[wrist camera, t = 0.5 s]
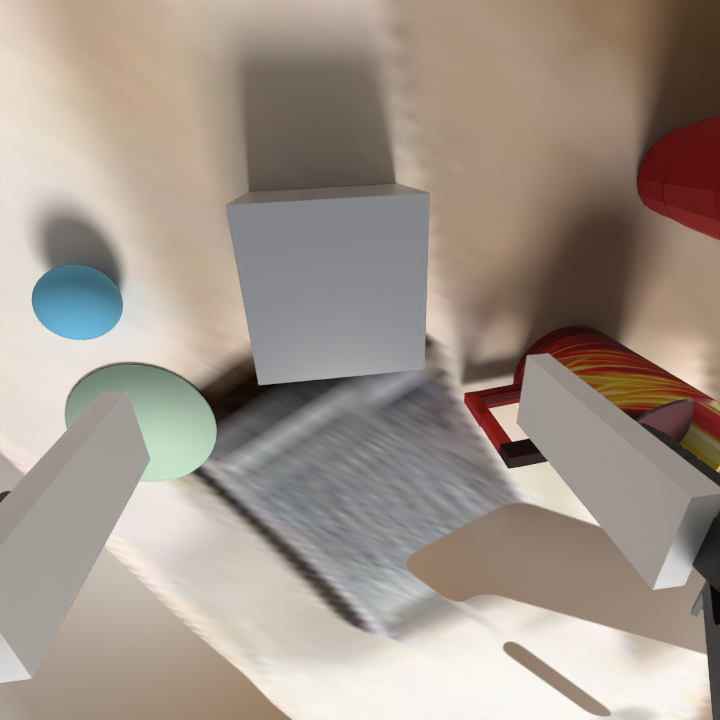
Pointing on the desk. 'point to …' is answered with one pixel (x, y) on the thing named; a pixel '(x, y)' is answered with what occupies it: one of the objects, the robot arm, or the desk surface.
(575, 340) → the mug
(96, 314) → the ball
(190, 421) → the disc
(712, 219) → the plastic cup
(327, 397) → the desk surface
